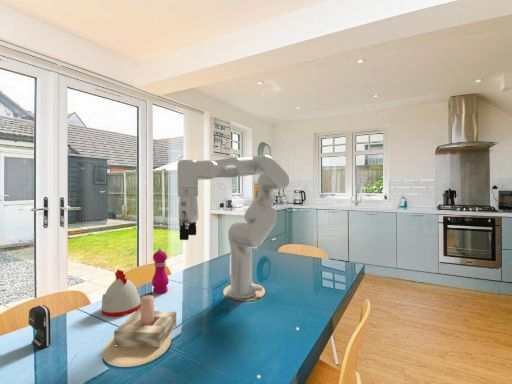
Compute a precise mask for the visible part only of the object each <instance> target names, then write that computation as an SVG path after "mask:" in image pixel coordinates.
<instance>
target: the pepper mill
mask: <svg viewBox="0 0 512 384" xmlns="http://www.w3.org/2000/svg"><path fill="white" fill-rule="evenodd" d="M167 258H168V255H167V252H165V251H163V249H162V247H158V248H157V251H156V252H155V253H153V256H152V260H153V261H154V269H155V270H154V271H155V272H154V274H153V277H152V280H151V285H152V287H153V289H152V294H154V295H163V294H166V293H168V291H169V289H168V284H169V277H168V276H169V275H167V273H166V265H167V264H166V262H167V261H166V260H167Z"/></svg>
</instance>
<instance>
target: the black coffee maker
mask: <svg viewBox="0 0 512 384" xmlns="http://www.w3.org/2000/svg"><path fill="white" fill-rule="evenodd" d="M28 311H29V312H28V324H29V326H30V327H32V328H33V329H34V330H35V334H34V335H35V336H34V337H33V339H32V341H31V343H32V345H33V346H34V347H35V348H37V349H44V348H46V346H47V347H49V346H51V345H52V342H51V340H52V339H51V311H50V308H49V307H47V306H46V305H44V304H39V305H36V306H33V307H32V308H30V309H29V310H28Z"/></svg>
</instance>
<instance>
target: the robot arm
mask: <svg viewBox="0 0 512 384" xmlns="http://www.w3.org/2000/svg"><path fill="white" fill-rule="evenodd" d="M176 167H177V197H179V200H178V222H179V223H178V225H179V227H178V228H179V240H180V241H188V240H189V239H190V236H196V235H197V221H198V220H199V204H198V197H199V180H203V181H204V180H205V181H207V180H212V179H216V178H227V179H228V178H229V179H230V178H239V177H246V176H256V175H258V178H257V187H258V194H257V197H255V199H254V201H252V203H251V204H250V206H248V208H247V210H246V211H245V213H244V221H245V222H243V221H237V222H235V223H232V224H231V226H230V227H229V229H228V230H227V232H228V233H227V235H228V236H227V237H228V242H229V243H228V244H229V248H230V288H229V289H228V290H227V296H228V297H230V298H232V299H236V300H237V299H238V300H244V299H245V298H246V299H250V298H252V296H253V297H254V296H256V293H257V291H258V292H262V291H263V286H261V284H255V283H254V281H253V252H252V248H257V247H259V246H261V245H262V244H263V243H264V241H265V240H266V239H267V237H268V235H269V234H270V232H271V231H272V230H273V228H274V227H275V226H276V224H277V219H278V213H277V211H276V209H275V208H274V207H273V206H274V203H275V196H274V191H273V190H278V191H279V190H284V189H286V188H288V185H289V184H290V178H289V175H288V173H287V172H286V170H285V169H283V167H282V166H281V165H280V164H279V163H278V161H276V160H275V159H274V158H273V157H272V156H270V155H267V154H261V155H252V156H238V157H236V156H235V157H233V156H232V157H228V158H222V159H215V160H210V159H209V160H207V159H206V160H196V159H195V160H193V159H181V160H179V161H178V162H177V166H176ZM246 299H245V300H246Z"/></svg>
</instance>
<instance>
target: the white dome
mask: <svg viewBox="0 0 512 384" xmlns="http://www.w3.org/2000/svg"><path fill="white" fill-rule="evenodd" d="M114 274H115V280H114V281H113V282H112V283H111V284H110V285H109V286H108V288H107V290H106V291H105V294H102V297H101V298H102V299H101V314H102V316H104V317H108V318H109V317H110V318H117V317H123V316H128V315H130V314H134V313H135V312H136V311H139V309H141V297H140V289H139V288H137V287H136V285H135V284H134V283H133V282H132V281H131V280H129V279H128V278H126V274H124V270H123V271H122V270H120V269H117V270H116V272H114Z"/></svg>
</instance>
